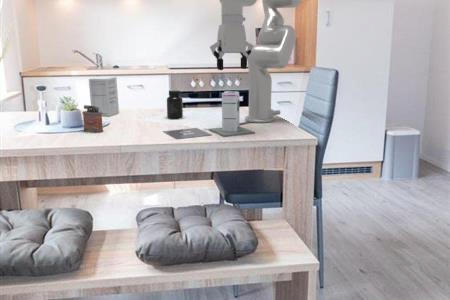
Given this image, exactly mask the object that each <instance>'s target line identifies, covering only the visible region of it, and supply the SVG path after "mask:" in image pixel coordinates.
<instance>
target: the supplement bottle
mask: <svg viewBox="0 0 450 300" xmlns="http://www.w3.org/2000/svg"><path fill="white" fill-rule="evenodd" d="M180 95H181V90H178V89H172V90H171V89H170V90H168V97H167V98H166V116H167V119H168V120H180V119H179V118H181V119H183V118H182V117H183V116H184V113H183V112H184V110H183V109H184V108H183V107H184V106H183V105H184V104H183V101H184V100H183V97H182V96H180Z"/></svg>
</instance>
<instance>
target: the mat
mask: <svg viewBox="0 0 450 300" xmlns="http://www.w3.org/2000/svg"><path fill="white" fill-rule="evenodd" d="M239 127H240V128H239V130H238V131H237V132H225V131H222V126H221V127H214V128H213V127H211V128H208V131H209V132H211V133H214V134H216V135H219V136H221V137H223V138H226V137H227V138H228V137H235V136H245V135H252V134H256V131H253V130H251V129H249V128H246V127H242V126H241V125H239Z"/></svg>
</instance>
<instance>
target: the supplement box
mask: <svg viewBox="0 0 450 300" xmlns="http://www.w3.org/2000/svg"><path fill="white" fill-rule="evenodd" d="M117 80H118V79H117V76H96V77H90V78H88V85H89V86H88V87H89V99H90V106H91V105H95V106H98V107H99V109H98V112H102V117H112V116H114V115H117V114H120V108H119V94H118V84H117V83H118V82H117Z"/></svg>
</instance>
